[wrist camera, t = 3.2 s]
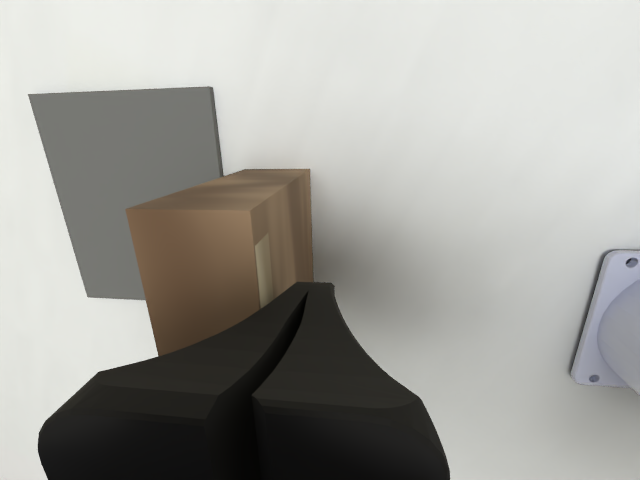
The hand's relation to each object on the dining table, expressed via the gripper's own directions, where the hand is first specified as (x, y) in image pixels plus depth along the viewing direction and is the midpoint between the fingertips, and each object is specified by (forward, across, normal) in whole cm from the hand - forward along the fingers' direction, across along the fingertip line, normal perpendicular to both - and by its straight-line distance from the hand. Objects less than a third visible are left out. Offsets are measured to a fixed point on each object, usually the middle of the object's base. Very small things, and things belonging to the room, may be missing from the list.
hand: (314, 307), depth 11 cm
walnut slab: (+7, +3, 0) cm, 8 cm away
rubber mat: (+7, +11, -2) cm, 13 cm away
